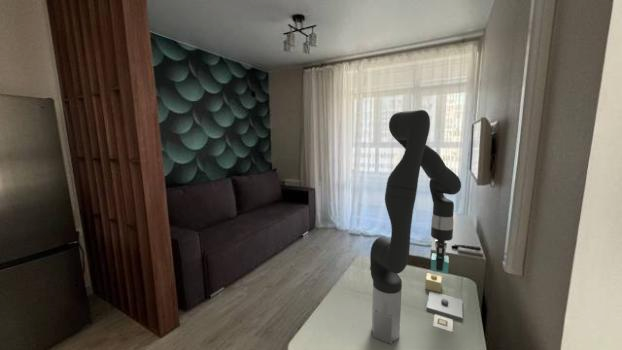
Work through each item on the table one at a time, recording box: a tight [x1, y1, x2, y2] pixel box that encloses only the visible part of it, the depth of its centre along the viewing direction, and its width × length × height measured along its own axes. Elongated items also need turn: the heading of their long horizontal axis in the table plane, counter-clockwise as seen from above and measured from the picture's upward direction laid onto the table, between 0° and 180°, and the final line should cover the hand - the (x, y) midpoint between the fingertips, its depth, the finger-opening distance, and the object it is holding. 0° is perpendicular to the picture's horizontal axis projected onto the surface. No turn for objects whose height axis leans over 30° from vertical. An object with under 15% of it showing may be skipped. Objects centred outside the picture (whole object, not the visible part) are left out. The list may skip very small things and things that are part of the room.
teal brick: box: [430, 252, 450, 274], centre depth 100 cm, size 6×6×6 cm
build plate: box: [426, 290, 464, 322], centre depth 100 cm, size 12×12×2 cm
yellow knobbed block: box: [425, 272, 443, 293], centre depth 112 cm, size 6×6×6 cm
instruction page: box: [432, 313, 454, 333], centre depth 91 cm, size 7×6×1 cm
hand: (439, 266), depth 100 cm, fingers closed on teal brick, 6 cm apart
